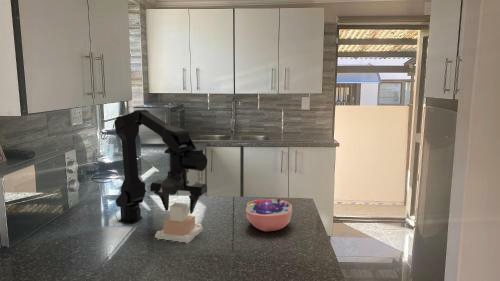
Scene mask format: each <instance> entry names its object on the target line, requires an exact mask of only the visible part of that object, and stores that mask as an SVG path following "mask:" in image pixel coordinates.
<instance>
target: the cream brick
mask: <svg viewBox="0 0 500 281" xmlns="http://www.w3.org/2000/svg"><path fill="white" fill-rule="evenodd" d="M188 206H189V204H188V203H185V202H174V203H173V204H171V205H169V217H170V221H178V222H183V221H184V220H185V219H187V218H188V216H189V215H188V214H189V207H188Z"/></svg>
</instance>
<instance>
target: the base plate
mask: <svg viewBox="0 0 500 281" xmlns="http://www.w3.org/2000/svg"><path fill="white" fill-rule="evenodd" d="M203 229H204V228H203V225H202V224H201V223H196V216H193V215H188V218H187V219H185V220H184V221H183V222H178V221H170V216H169V217H168V218H166V219H165V220H163V222H162V229H161V230H157V231H156V233H154V239H155V238H158V239H157V240H159V239H165V240H164V241H166V240H173V241H172V242H174V241H179V242H178V243H181V242H186V243H185V244H189V243H191V241H193V239H194V238H196V237H197V235H199V234H200V233H201V232H203ZM195 236H196V237H195ZM188 242H189V243H188Z"/></svg>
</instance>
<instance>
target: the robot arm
mask: <svg viewBox="0 0 500 281" xmlns="http://www.w3.org/2000/svg"><path fill="white" fill-rule="evenodd" d="M113 125H114V130H115V134H116V135H117V137H118V138H119V140H120V141H121V142H120V143H121V150H122V151H121V153H122V163H123V164H122V165H123V174H124V179H123V181H122V183H121V186H120V194H119V195H118V197H117V198H116V199H115V206H117V207H119V208H120V219H118V222H120V223H124V224H125V223H126V224H134V223H137V222H138V221H139V220H142V218H143V216H142V213H141V207H140V204H142V203H143V201H144V198H145V197H146V193H147V190H146V183H145V181H142V180H141V178H140V176H139V166H138V156H137V154H138V153H137V143H136V141H137V140H136V139H137V137H138V135H139V133H140V126H142V125H143V126H144V127H146V128H148V129H149V130H151V131H153V133H155V134H157V135H158V136H160V138H161V140H162V142H163V143H164V144H165V145H166V146H167V147H168V148H166V149H165V150H164V154H169V156H168V157H169V170H168V171H167V174H166V175H167V176H166V178H165V179H157V180H155V181H153V182H151V184H150V187H149V189H150V192H153V194H154V195H157V196H158V197H159V198H160V200H161V203H162V204H163V208H164V211H165V212H168V211H169V209H170V195H171V196H174V195H176V194H177V193H178V192H179V191H180V192H189V194H190V195H189V196H188V197H189V199H190V200H189V202H190V203H189V212H190V215H192V214H193V212H194V210H195V208H196V206H197V203H198V202H199V201H198V200H199V199H200V197H202V196H203V195H205V194H206V193H208V186H207V185H206V183H199V182H195V183H194V184H192V185H188V184H190V182H189V180H188V173H189V170H193V171H197V172H203V171H205V170H206V168H207V167H208V166H207V165H208V158H207V155H206V154H205V153H204V150H203V149H197V147H196V145H195V144H194V141H193V139H192V138H191V137H190V134H189V132H188V131H187V129H184V128H181V127H177V126H173V125H171V124H168V123H167V122H166V121H164V120H162V119H160V118H158V117H157V116H155V115H154V114H153V113H151V112H150V111H149V110H148V109H137V110H134V111H132V112H130V113H126V114H125V115H119V116H117V117H116V118H115V119H114V124H113Z"/></svg>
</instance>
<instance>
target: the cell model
mask: <svg viewBox="0 0 500 281" xmlns="http://www.w3.org/2000/svg"><path fill="white" fill-rule="evenodd" d="M245 212H246V219H247V220H248V221H249V222H250V224H251V225H252V226H253V227H254V228H256V229H258V230H259V231H260V232H273V231H278V230H282V229H283V228H285V227H286V226H287V225H289V223H290V221H291V218H292V214H293V205H292V204H291V203H289V202H288V201H286V200H283V199H280V198H268V199H267V198H266V199H255V200H252V201H248V202H247V203H246V208H245Z"/></svg>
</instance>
